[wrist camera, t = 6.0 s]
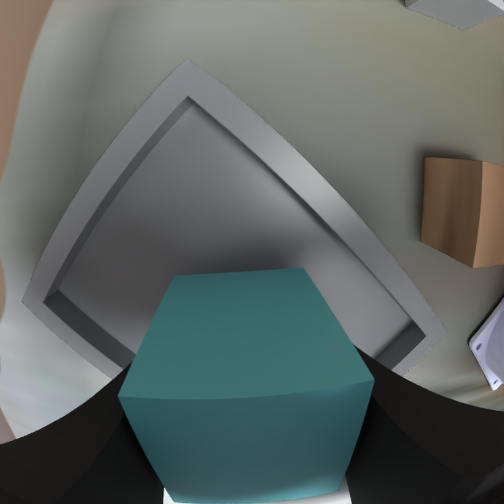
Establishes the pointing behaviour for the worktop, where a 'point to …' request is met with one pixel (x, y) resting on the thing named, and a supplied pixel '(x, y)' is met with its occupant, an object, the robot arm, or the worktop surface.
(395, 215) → the worktop surface
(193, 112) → the grey tray
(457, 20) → the light grey block
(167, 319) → the teal block
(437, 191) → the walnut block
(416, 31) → the worktop surface
